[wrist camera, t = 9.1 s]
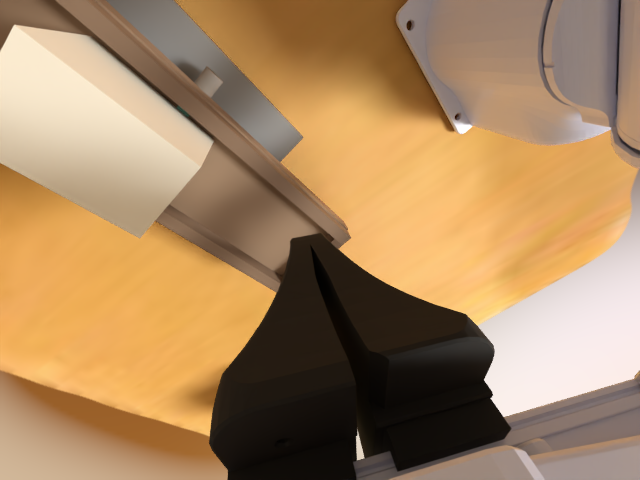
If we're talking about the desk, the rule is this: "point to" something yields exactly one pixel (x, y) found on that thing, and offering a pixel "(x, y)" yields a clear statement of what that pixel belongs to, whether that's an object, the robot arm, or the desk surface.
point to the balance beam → (213, 118)
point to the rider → (93, 128)
